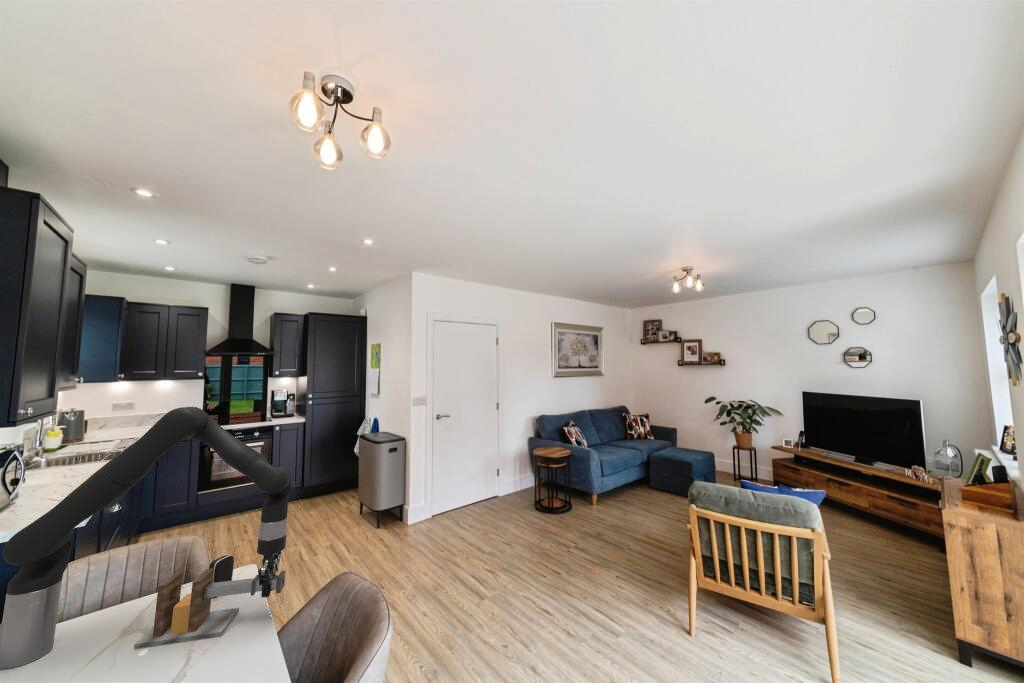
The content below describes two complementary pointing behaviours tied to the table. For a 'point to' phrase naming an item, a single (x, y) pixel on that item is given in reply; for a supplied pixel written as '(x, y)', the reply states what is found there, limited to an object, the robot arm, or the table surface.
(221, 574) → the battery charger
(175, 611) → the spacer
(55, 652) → the table surface
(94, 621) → the table surface
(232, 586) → the shaft
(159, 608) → the stand
